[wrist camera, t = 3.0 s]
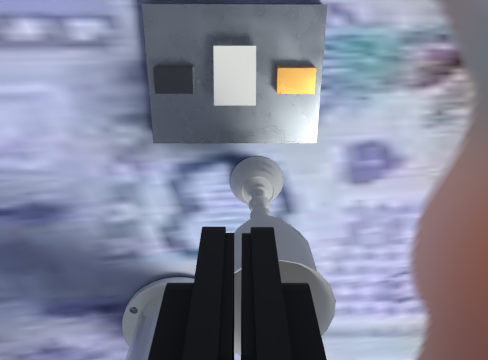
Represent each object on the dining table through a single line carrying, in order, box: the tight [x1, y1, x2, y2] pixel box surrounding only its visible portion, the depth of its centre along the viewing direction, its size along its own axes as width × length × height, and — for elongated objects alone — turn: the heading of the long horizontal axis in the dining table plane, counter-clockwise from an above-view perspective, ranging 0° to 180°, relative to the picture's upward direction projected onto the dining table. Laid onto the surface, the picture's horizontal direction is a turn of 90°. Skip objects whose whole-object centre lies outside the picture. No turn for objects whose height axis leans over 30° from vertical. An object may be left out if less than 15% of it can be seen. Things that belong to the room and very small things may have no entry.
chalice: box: [230, 156, 336, 355], centre depth 32 cm, size 7×7×18 cm
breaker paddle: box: [213, 46, 256, 106], centre depth 33 cm, size 4×3×1 cm
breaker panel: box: [142, 4, 327, 143], centre depth 34 cm, size 11×14×3 cm
